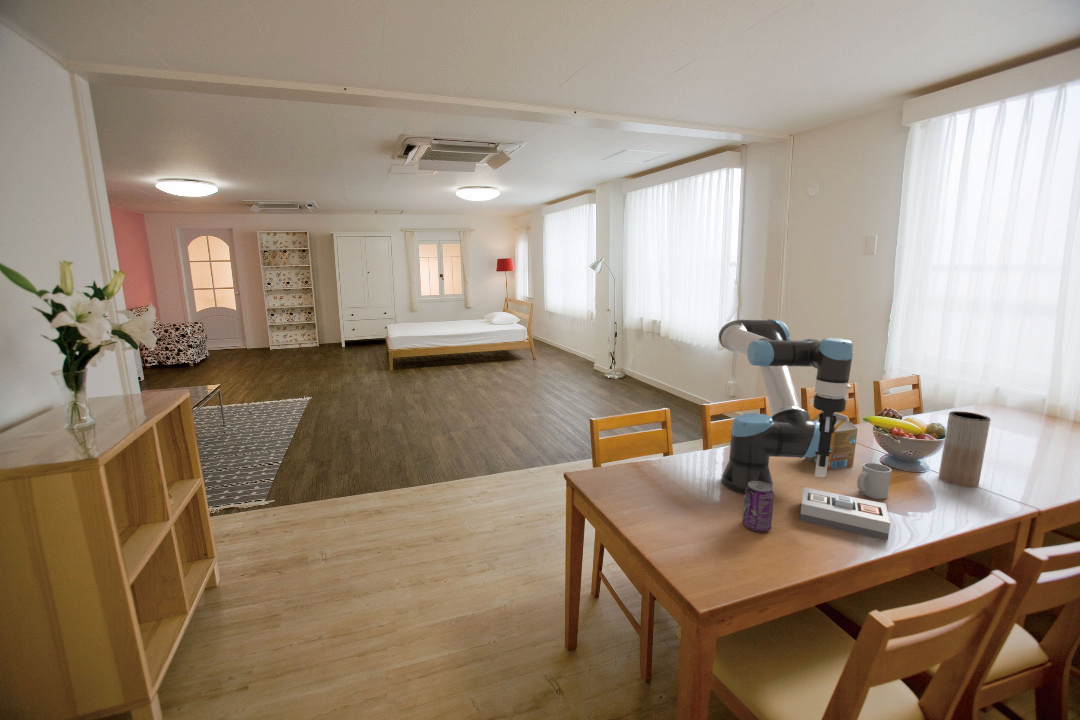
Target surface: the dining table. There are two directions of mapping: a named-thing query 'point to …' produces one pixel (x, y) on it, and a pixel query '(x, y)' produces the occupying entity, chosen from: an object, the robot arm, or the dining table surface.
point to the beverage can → (758, 506)
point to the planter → (964, 448)
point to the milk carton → (840, 443)
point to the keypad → (845, 515)
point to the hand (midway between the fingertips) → (820, 475)
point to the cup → (874, 480)
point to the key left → (818, 499)
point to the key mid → (843, 501)
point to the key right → (869, 509)
